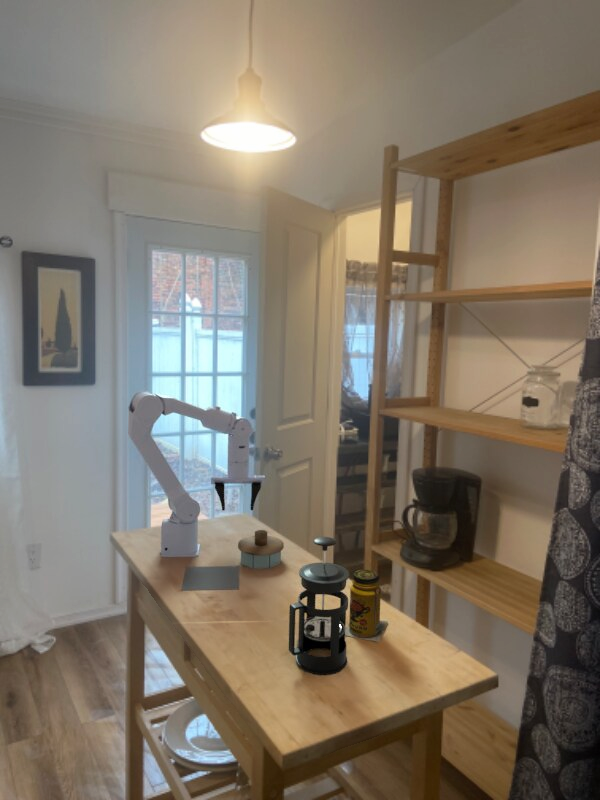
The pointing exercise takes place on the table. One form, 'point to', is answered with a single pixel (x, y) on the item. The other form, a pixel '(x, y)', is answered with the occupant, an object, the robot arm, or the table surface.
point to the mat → (211, 578)
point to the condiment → (365, 607)
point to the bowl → (260, 560)
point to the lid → (260, 544)
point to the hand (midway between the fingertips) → (237, 509)
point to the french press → (320, 616)
